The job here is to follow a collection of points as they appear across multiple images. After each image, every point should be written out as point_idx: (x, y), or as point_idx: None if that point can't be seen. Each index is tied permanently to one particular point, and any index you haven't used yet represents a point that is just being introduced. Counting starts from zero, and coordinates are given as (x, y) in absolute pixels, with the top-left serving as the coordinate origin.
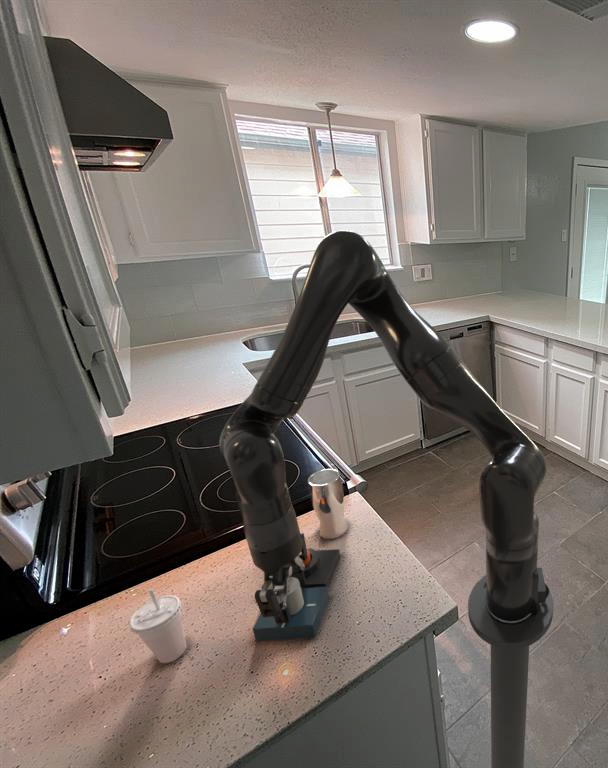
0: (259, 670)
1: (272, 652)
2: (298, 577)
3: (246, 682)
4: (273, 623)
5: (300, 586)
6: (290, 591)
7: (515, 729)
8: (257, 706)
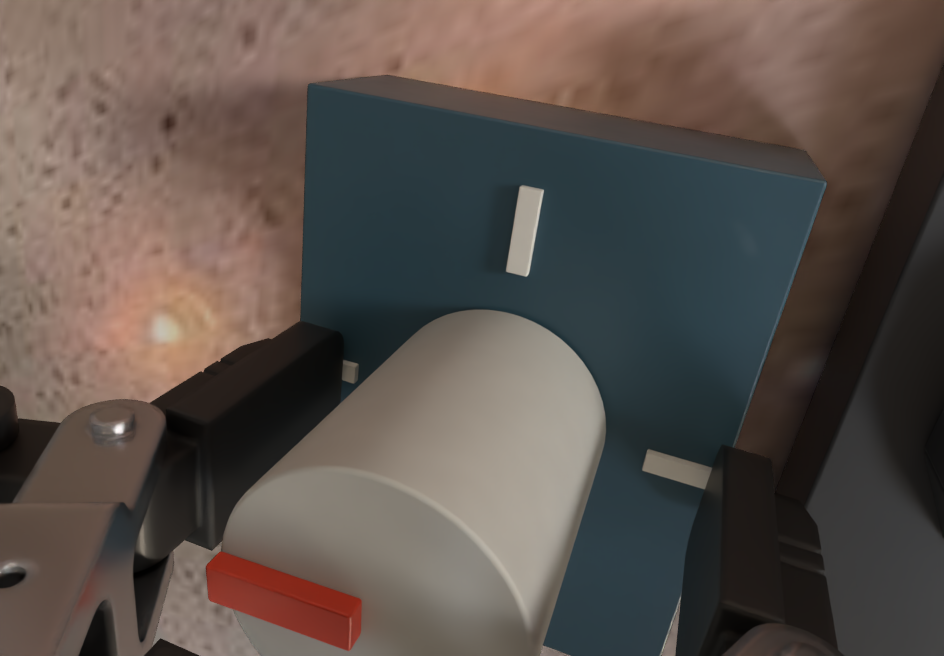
0: (176, 169)
1: (284, 227)
2: (693, 621)
3: (111, 105)
4: (340, 275)
5: (697, 515)
6: (275, 649)
7: None
8: (9, 212)
